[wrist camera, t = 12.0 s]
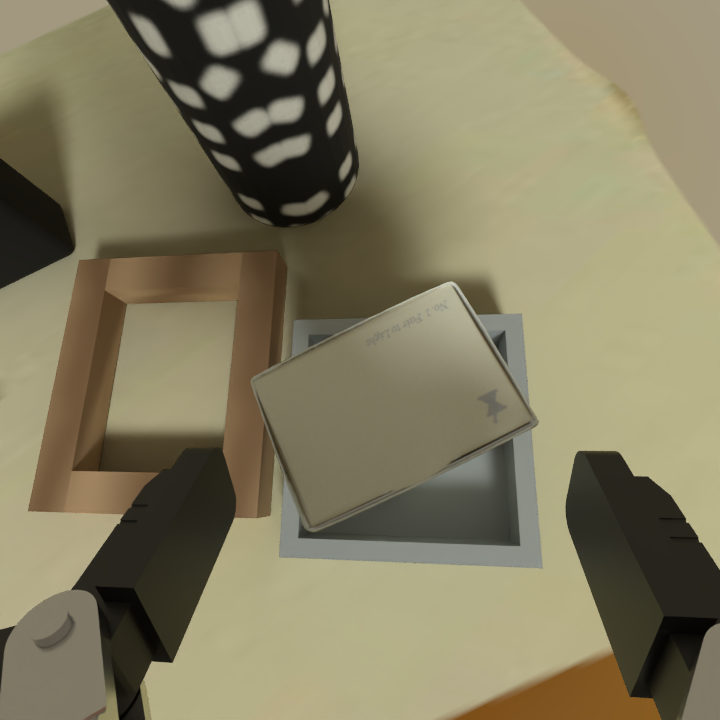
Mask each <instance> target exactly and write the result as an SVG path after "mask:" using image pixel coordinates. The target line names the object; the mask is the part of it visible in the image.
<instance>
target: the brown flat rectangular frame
mask: <svg viewBox="0 0 720 720" xmlns="http://www.w3.org/2000/svg"><path fill="white" fill-rule="evenodd" d="M286 279H287V266H286V264H285V263H284V261H283V259H282V258H281V256H280V254H279V253H278V251H256V252H236V253H215V254H195V255H174V256H154V257H133V258H113V259H92V260H79V264H78V269H77V274H76V279H75V284H74V289H73V293H72V298H71V303H70V308H69V313H68V318H67V323H66V328H65V333H64V337H63V342H62V347H61V352H60V357H59V362H58V367H57V372H56V377H55V381H54V386H53V391H52V396H51V401H50V406H49V411H48V416H47V421H46V425H45V430H44V435H43V440H42V445H41V450H40V455H39V460H38V465H37V469H36V474H35V479H34V484H33V489H32V494H31V499H30V504H29V509H28V511H38V512H70V513H103V514H125V513H126V511H127V510H128V508H131V506H132V505H131V504H132V503H133V501H134V500H135V498H136V497H137V495H138V494H139V493H140V491H141V490H142V488H143V487H144V485H146V484H147V483H148V482H149V481H150V480H152V479H153V478H154V477H155V476H157V475H158V474H159V473H154V472H98V471H99V465H100V459H101V453H102V447H103V441H104V435H105V429H106V423H107V417H108V411H109V406H110V400H111V394H112V388H113V382H114V376H115V370H116V364H117V358H118V352H119V346H120V340H121V334H122V329H123V323H124V317H125V311H126V305H127V304H137V303H166V302H195V301H224V300H238V302H237V312H236V322H235V332H234V343H233V353H232V363H231V373H230V383H229V393H228V403H227V414H226V424H225V434H224V444H223V453H224V456H225V460H226V463H227V467H228V470H229V473H230V477H231V480H232V484H233V487H234V490H235V494H236V511H235V516H234V518H261V517H266V516H270V512H271V498H272V483H273V469H274V454H275V450H274V448H273V445H272V442H271V440H270V437H269V434H268V431H267V428H266V426H265V423H264V420H263V417H262V415H261V411H260V408H259V405H258V403H257V400H256V397H255V395H254V392H253V389H252V386H251V379H252V378H253V377H254V376H256V375H257V374H260V373H262V372H263V371H265V370H267V369H269V368H270V367H272V366H274V365H276V364H278V363H280V362H281V352H282V337H283V323H284V308H285V294H286Z"/></svg>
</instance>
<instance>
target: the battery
mask: <svg viewBox="0 0 720 720" xmlns="http://www.w3.org/2000/svg"><path fill="white" fill-rule="evenodd" d="M72 252H73V247H72V244H71V240H70V237H69V233H68V230H67V227H66V223H65V220H64V216H63V213H62V210H61V207H60V205H59V204H58V203H57V202H56V201H54V200H53V199H52V198H51V197H49V196H48V195H47V194H45V193H44V192H43V191H42V190H40V189H39V188H38V187H36V186H35V185H34V184H33V183H31V182H30V181H29V180H27V179H26V178H25V177H24V176H22V175H21V174H20V173H18V172H17V171H16V170H15V169H13V168H12V167H11V166H9V165H8V164H7V163H6V162H4V161H3V160H2V159H0V289H1V288H3V287H5V286H7V285H9V284H11V283H13V282H15V281H17V280H19V279H21V278H23V277H25V276H27V275H30V274H32V273H34V272H36V271H38V270H40V269H42V268H44V267H46V266H48V265H50V264H52V263H54V262H56V261H58V260H60V259H62V258H64V257H66V256H68V255H70V254H71V253H72Z"/></svg>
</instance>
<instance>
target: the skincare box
mask: <svg viewBox="0 0 720 720" xmlns="http://www.w3.org/2000/svg"><path fill="white" fill-rule="evenodd" d="M251 386H252V389H253V392H254V395H255V397H256V400H257V403H258V405H259V408H260V411H261V415H262V417H263V420H264V423H265V426H266V428H267V431H268V434H269V437H270V440H271V442H272V445H273V448H274V450H275V453H276V456H277V458H278V461H279V464H280V467H281V469H282V472H283V475H284V478H285V481H286V483H287V486H288V488H289V491H290V493H291V496H292V498H293V501H294V503H295V506H296V509H297V511H298V514H299V516H300V519H301V521H302V524H303V526H304V528H305V529H306V530H307V531H310V532H318V531H320V530H322V529H325V528H327V527H329V526H332V525H334V524H336V523H338V522H341V521H343V520H345V519H348V518H350V517H352V516H354V515H356V514H358V513H361V512H363V511H365V510H367V509H369V508H372V507H374V506H376V505H378V504H380V503H383V502H385V501H387V500H389V499H391V498H393V497H395V496H398V495H400V494H402V493H404V492H406V491H408V490H410V489H413V488H415V487H417V486H419V485H421V484H423V483H425V482H427V481H429V480H431V479H433V478H435V477H437V476H439V475H441V474H443V473H445V472H447V471H449V470H451V469H453V468H455V467H457V466H459V465H461V464H463V463H465V462H467V461H469V460H471V459H473V458H475V457H477V456H479V455H481V454H483V453H485V452H487V451H489V450H491V449H493V448H495V447H497V446H499V445H501V444H503V443H505V442H507V441H509V440H510V439H512V438H514V437H516V436H518V435H520V434H522V433H524V432H526V431H528V430H530V429H532V428H534V427H536V426H537V425H538V422H539V421H538V419H537V417H536V416H535V414H534V412H533V411H532V409H531V408H530V406H529V404H528V402H527V400H526V398H525V396H524V394H523V392H522V391H521V389H520V388H519V386H518V384H517V382H516V381H515V379H514V377H513V375H512V373H511V371H510V370H509V368H508V366H507V364H506V362H505V361H504V360H503V358H502V356H501V354H500V353H499V351H498V350H497V348H496V346H495V344H494V342H493V341H492V339H491V337H490V336H489V334H488V332H487V330H486V328H485V327H484V326H483V324H482V322H481V321H480V319H479V317H478V316H477V314H476V313H475V311H474V310H473V308H472V306H471V305H470V303H469V302H468V300H467V299H466V297H465V296H464V294H463V292H462V291H461V289H460V288H459V286H458V285H457V284H456V283H455V282H452V281H449V282H446V283H444V284H441V285H439V286H437V287H434V288H432V289H430V290H427V291H425V292H423V293H421V294H418V295H416V296H414V297H411V298H409V299H407V300H405V301H403V302H401V303H399V304H397V305H394V306H392V307H390V308H388V309H386V310H384V311H382V312H380V313H378V314H376V315H374V316H371V317H369V318H367V319H365V320H363V321H361V322H359V323H357V324H355V325H353V326H351V327H349V328H347V329H345V330H343V331H341V332H339V333H337V334H335V335H333V336H331V337H329V338H327V339H325V340H323V341H321V342H319V343H317V344H315V345H313V346H311V347H309V348H307V349H305V350H303V351H301V352H300V353H298V354H296V355H294V356H292V357H290V358H288V359H286V360H284V361H282V362H280V363H278V364H276V365H274V366H272V367H270V368H269V369H267V370H265V371H263V372H262V373H260V374H257V375H256V376H254V377H253V378H252V379H251Z"/></svg>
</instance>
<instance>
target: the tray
mask: <svg viewBox="0 0 720 720" xmlns="http://www.w3.org/2000/svg"><path fill="white" fill-rule="evenodd" d="M477 316H478V317H479V319H480V321H481V322H482V324H483V326H484V327H485V328H486V330H487V332H488V334H489V336H490V337H491V339H492V341H493V342H494V344H495V346H496V348H497V350H498V351H499V353H500V354H501V356H502V358H503V360H504V361H505V362H506V364H507V366H508V368H509V370H510V371H511V373H512V375H513V377H514V379H515V381H516V382H517V384H518V386H519V388H520V389H521V391H522V392H523V394H524V396H525V398H526V400H527V402H528V404H529V395H528V383H527V370H526V358H525V346H524V333H523V321H522V314H488V315H477ZM365 319H367V318H345V319H310V320H294V325H293V342H292V356H294V355H296V354H298V353H300V352H301V351H303V350H305V349H307V348H309V347H311V346H313V345H315V344H317V343H319V342H321V341H323V340H325V339H327V338H329V337H331V336H333V335H335V334H337V333H339V332H341V331H343V330H345V329H347V328H349V327H351V326H353V325H355V324H357V323H359V322H361V321H363V320H365ZM279 557H285V558H309V559H332V560H356V561H380V562H403V563H427V564H451V565H474V566H498V567H522V568H542V555H541V543H540V531H539V518H538V506H537V494H536V481H535V469H534V457H533V444H532V432H531V429H530V430H528V431H526V432H524V433H522V434H520V435H518V436H516V437H514V438H512V439H510V440H509V441H507V442H505V443H503V444H501V445H499V446H497V447H495V448H493V449H491V450H489V451H487V452H485V453H483V454H481V455H479V456H477V457H475V458H473V459H471V460H469V461H467V462H465V463H463V464H461V465H459V466H457V467H455V468H453V469H451V470H449V471H447V472H445V473H443V474H441V475H439V476H437V477H435V478H433V479H431V480H429V481H427V482H425V483H423V484H421V485H419V486H417V487H415V488H413V489H410V490H408V491H406V492H404V493H402V494H400V495H398V496H395V497H393V498H391V499H389V500H387V501H385V502H383V503H380V504H378V505H376V506H374V507H372V508H369V509H367V510H365V511H363V512H361V513H358V514H356V515H354V516H352V517H350V518H348V519H345V520H343V521H341V522H338V523H336V524H334V525H332V526H329V527H327V528H325V529H322V530H320V531H318V532H310V531H307V530H306V529H305V528H304V526H303V524H302V521H301V519H300V516H299V514H298V511H297V509H296V506H295V503H294V501H293V498H292V496H291V493H290V491H289V488H288V486H287V483H286V481H285V478H284V486H283V502H282V518H281V534H280V550H279Z"/></svg>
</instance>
